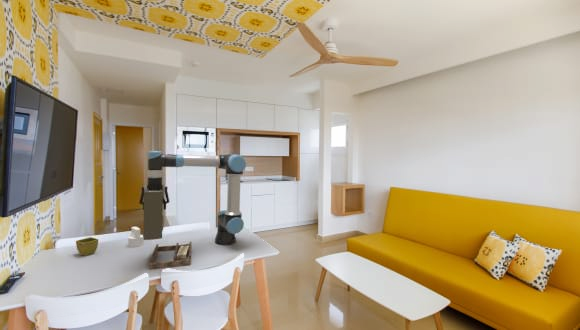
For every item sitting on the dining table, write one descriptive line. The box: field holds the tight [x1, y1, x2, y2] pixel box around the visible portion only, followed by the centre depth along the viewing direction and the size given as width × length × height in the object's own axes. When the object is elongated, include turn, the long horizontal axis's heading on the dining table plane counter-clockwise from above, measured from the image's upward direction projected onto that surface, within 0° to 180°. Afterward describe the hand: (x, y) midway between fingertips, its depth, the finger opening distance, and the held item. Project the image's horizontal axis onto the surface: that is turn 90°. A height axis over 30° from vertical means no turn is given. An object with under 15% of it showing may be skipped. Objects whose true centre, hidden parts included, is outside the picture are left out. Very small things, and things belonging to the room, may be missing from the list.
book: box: [143, 184, 165, 241], centre depth 159 cm, size 22×9×28 cm, turn 23°
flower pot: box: [75, 236, 99, 256], centre depth 168 cm, size 9×9×9 cm
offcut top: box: [177, 245, 189, 259], centre depth 165 cm, size 5×16×2 cm, turn 14°
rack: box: [149, 241, 192, 270], centre depth 163 cm, size 21×28×6 cm
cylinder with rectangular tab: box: [127, 226, 144, 248], centre depth 186 cm, size 9×9×12 cm
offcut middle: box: [176, 251, 189, 261], centre depth 165 cm, size 5×16×2 cm, turn 14°
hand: (154, 215), depth 159 cm, fingers closed on book, 8 cm apart
